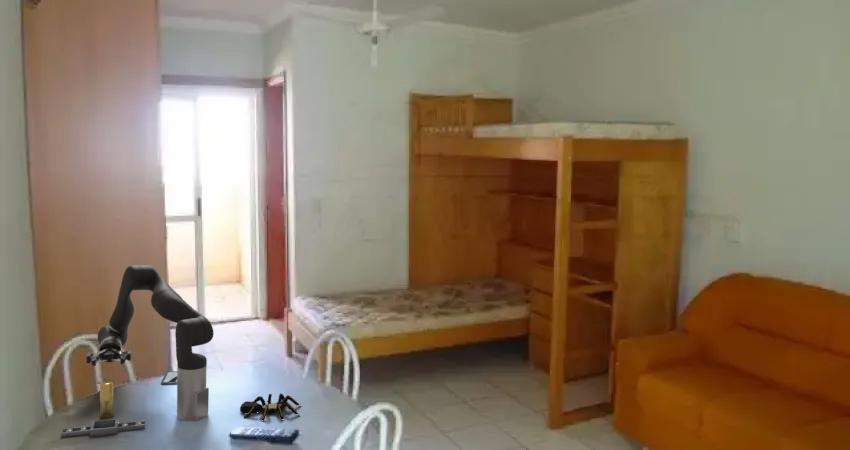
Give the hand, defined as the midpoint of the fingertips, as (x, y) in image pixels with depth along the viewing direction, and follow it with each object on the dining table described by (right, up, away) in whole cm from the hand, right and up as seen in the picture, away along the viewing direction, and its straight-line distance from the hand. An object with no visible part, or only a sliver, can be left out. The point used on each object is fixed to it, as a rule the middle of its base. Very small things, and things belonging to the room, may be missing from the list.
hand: (108, 362), depth 230 cm
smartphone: (+11, -13, +30) cm, 35 cm away
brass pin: (+4, -16, -9) cm, 19 cm away
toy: (+56, -18, +1) cm, 59 cm away
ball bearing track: (+9, -17, -21) cm, 28 cm away
